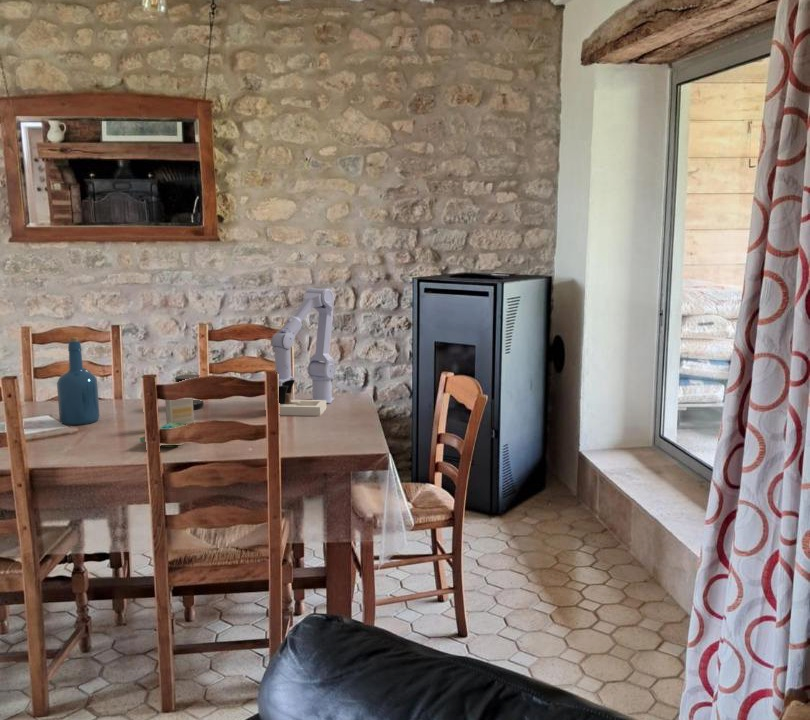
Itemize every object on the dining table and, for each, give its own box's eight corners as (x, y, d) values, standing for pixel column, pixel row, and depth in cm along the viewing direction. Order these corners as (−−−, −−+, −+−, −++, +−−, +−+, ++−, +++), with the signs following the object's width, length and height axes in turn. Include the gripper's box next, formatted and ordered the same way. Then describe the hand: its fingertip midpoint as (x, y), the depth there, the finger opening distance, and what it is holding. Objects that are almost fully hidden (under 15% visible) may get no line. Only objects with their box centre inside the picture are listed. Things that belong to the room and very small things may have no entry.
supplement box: (189, 425, 281) (187, 387, 279) (194, 427, 278) (192, 390, 275) (166, 428, 277) (164, 390, 275) (170, 431, 273) (168, 393, 271)
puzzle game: (203, 421, 268) (175, 436, 249) (204, 435, 269) (176, 451, 249) (170, 420, 270) (139, 435, 251) (170, 434, 271) (140, 450, 251)
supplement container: (178, 405, 313) (177, 374, 311) (206, 404, 314) (204, 373, 312) (172, 411, 303) (170, 379, 301) (201, 410, 303) (199, 379, 302)
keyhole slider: (280, 408, 304) (279, 392, 303) (295, 408, 303) (294, 392, 302) (276, 411, 298) (276, 395, 297) (291, 411, 298) (291, 395, 297)
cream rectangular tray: (274, 407, 307) (273, 399, 307) (326, 408, 306) (326, 400, 305) (265, 415, 296) (265, 406, 295) (320, 415, 294) (320, 407, 293)
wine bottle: (92, 426, 281) (85, 339, 276) (53, 426, 281) (46, 340, 276) (106, 416, 294) (100, 334, 290) (69, 417, 294) (63, 334, 289)
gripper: (289, 368, 291) (290, 406, 293) (298, 362, 305) (299, 397, 307) (269, 368, 291) (271, 405, 294) (279, 361, 306) (281, 397, 308)
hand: (284, 401), depth 300 cm, fingers open, 7 cm apart
